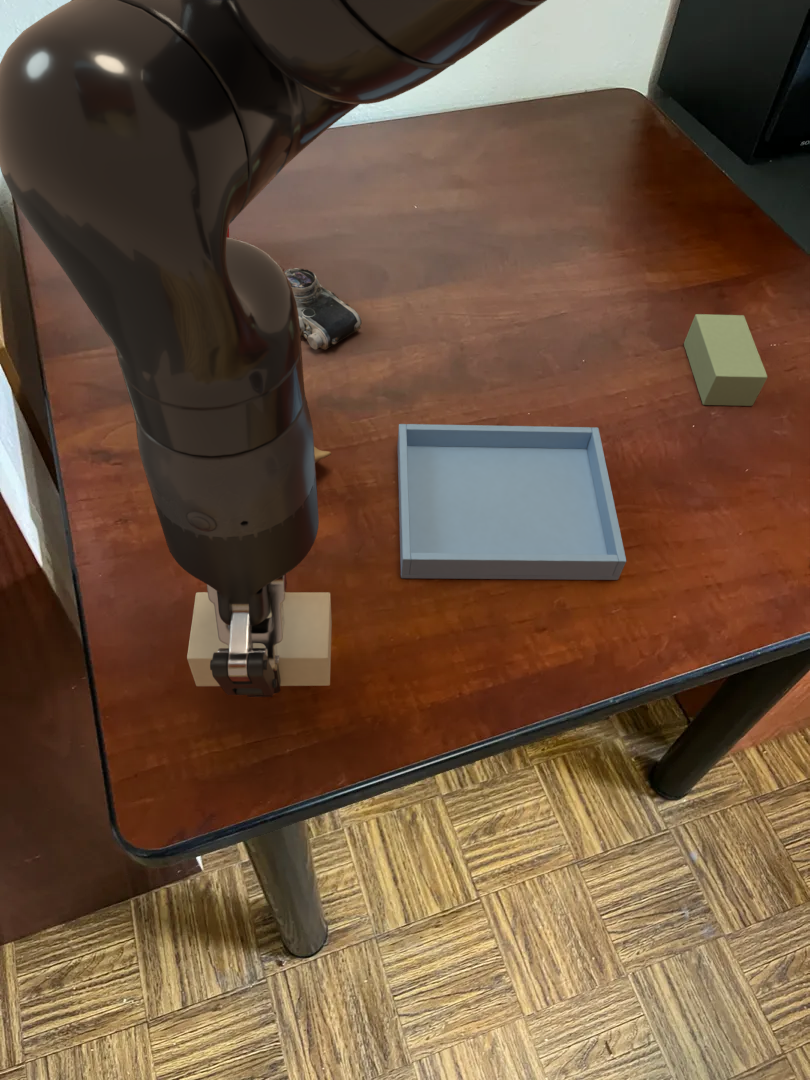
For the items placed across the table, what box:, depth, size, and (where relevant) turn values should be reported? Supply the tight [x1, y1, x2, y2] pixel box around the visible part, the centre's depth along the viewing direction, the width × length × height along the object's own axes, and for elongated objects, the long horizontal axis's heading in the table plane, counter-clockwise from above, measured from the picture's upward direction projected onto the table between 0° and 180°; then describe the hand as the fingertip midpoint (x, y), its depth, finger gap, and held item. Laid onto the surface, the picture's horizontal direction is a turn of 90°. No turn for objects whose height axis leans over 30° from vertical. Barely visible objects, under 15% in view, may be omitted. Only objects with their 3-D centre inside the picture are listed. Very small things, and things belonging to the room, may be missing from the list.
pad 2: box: [683, 313, 768, 407], centre depth 77 cm, size 4×8×4 cm, turn 1°
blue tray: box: [397, 423, 627, 581], centre depth 67 cm, size 16×13×2 cm
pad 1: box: [186, 591, 333, 687], centre depth 52 cm, size 4×8×4 cm, turn 92°
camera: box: [284, 267, 362, 351], centre depth 78 cm, size 5×10×4 cm, turn 45°
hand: (265, 650), depth 53 cm, fingers closed on pad 1, 4 cm apart
